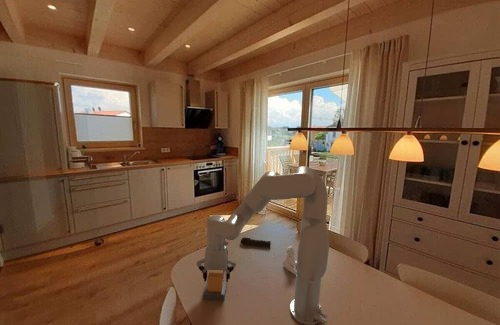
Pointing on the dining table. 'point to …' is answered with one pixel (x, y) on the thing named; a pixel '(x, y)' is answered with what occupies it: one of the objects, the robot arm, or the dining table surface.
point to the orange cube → (215, 280)
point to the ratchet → (215, 293)
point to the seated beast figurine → (290, 261)
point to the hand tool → (255, 242)
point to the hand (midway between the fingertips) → (216, 279)
